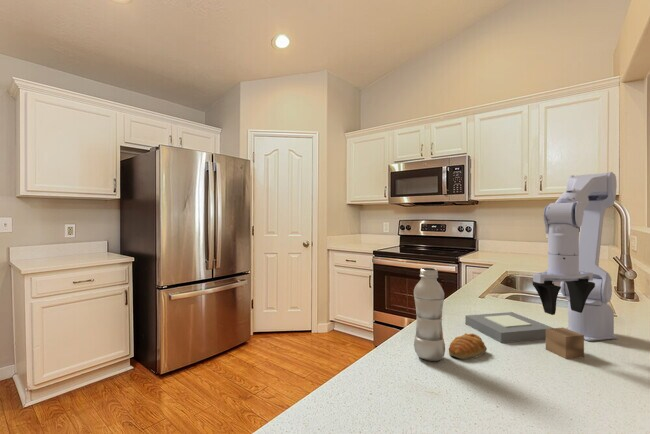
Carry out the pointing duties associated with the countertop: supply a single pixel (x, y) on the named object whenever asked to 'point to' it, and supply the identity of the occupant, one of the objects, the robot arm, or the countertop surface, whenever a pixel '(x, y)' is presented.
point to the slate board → (507, 326)
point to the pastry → (467, 346)
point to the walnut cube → (565, 343)
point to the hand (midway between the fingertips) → (563, 312)
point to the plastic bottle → (429, 316)
